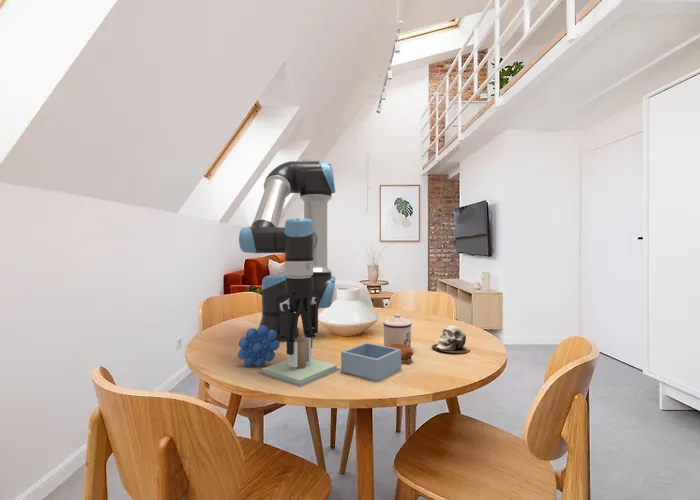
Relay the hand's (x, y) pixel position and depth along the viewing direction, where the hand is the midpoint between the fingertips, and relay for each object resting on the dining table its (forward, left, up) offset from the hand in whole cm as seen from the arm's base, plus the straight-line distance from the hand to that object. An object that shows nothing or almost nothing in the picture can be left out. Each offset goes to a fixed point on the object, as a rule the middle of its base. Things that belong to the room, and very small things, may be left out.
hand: (299, 363), depth 104 cm
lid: (0, 0, -2) cm, 2 cm away
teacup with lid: (+9, +36, -3) cm, 37 cm away
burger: (+15, +25, -3) cm, 29 cm away
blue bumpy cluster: (-13, -3, -3) cm, 14 cm away
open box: (+15, +12, -3) cm, 19 cm away
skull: (+23, +46, -3) cm, 52 cm away
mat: (0, 0, -3) cm, 3 cm away
